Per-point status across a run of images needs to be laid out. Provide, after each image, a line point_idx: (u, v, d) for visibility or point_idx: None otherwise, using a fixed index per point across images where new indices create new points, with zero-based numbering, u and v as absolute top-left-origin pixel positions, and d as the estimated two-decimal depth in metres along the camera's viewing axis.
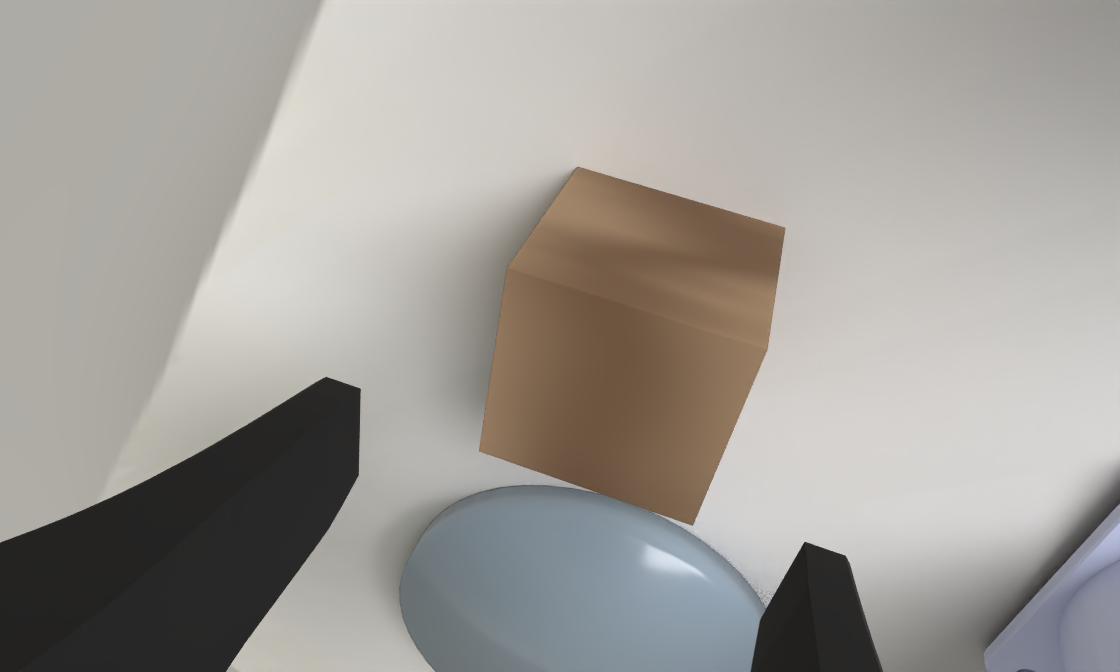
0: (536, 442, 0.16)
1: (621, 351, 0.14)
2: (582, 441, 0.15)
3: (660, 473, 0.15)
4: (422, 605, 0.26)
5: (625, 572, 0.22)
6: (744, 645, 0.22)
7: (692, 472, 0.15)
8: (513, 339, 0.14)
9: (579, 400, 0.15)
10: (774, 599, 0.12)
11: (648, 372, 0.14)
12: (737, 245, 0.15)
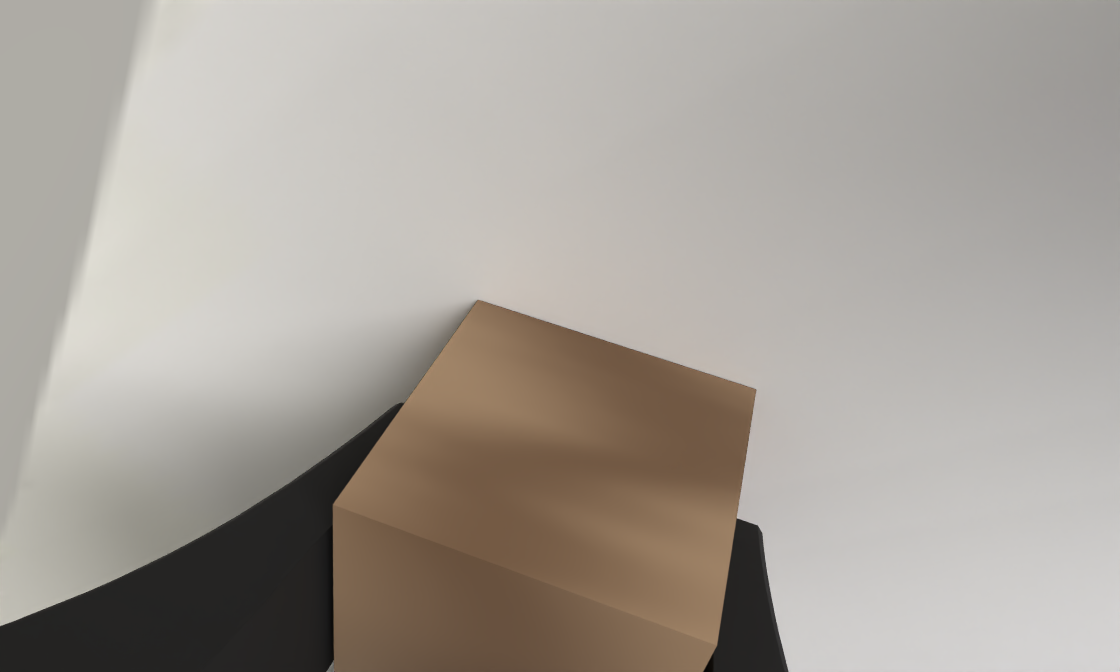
0: None
1: (507, 620, 0.09)
2: None
3: None
4: None
5: None
6: None
7: None
8: (356, 588, 0.10)
9: (455, 667, 0.10)
10: None
11: (546, 648, 0.09)
12: (686, 431, 0.11)
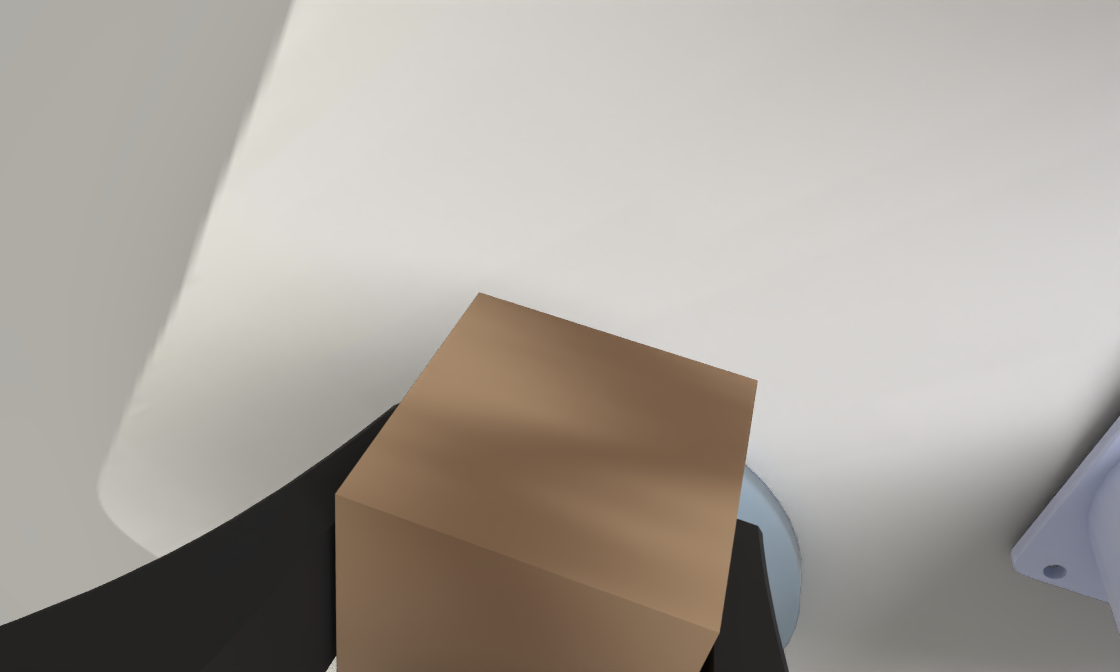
0: None
1: (509, 610, 0.09)
2: None
3: None
4: None
5: None
6: (768, 553, 0.22)
7: None
8: (359, 578, 0.10)
9: (458, 657, 0.10)
10: None
11: (549, 637, 0.09)
12: (688, 422, 0.11)
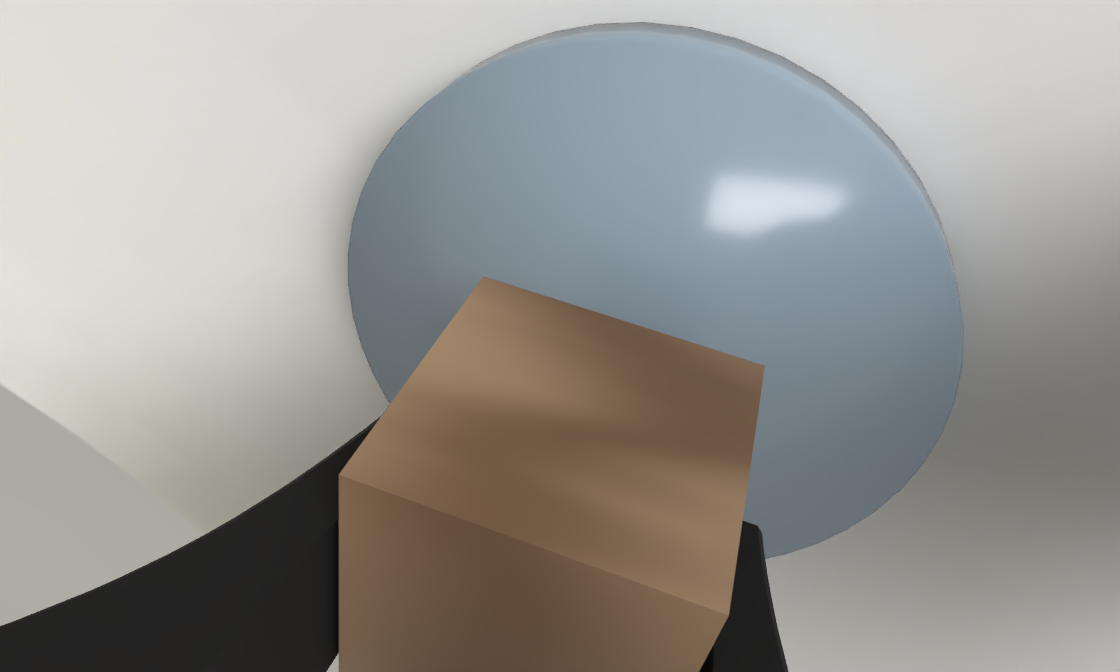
0: None
1: (515, 592, 0.09)
2: None
3: None
4: (383, 286, 0.17)
5: (731, 152, 0.13)
6: (922, 290, 0.13)
7: None
8: (363, 562, 0.10)
9: (462, 642, 0.10)
10: None
11: (554, 622, 0.09)
12: (695, 405, 0.11)
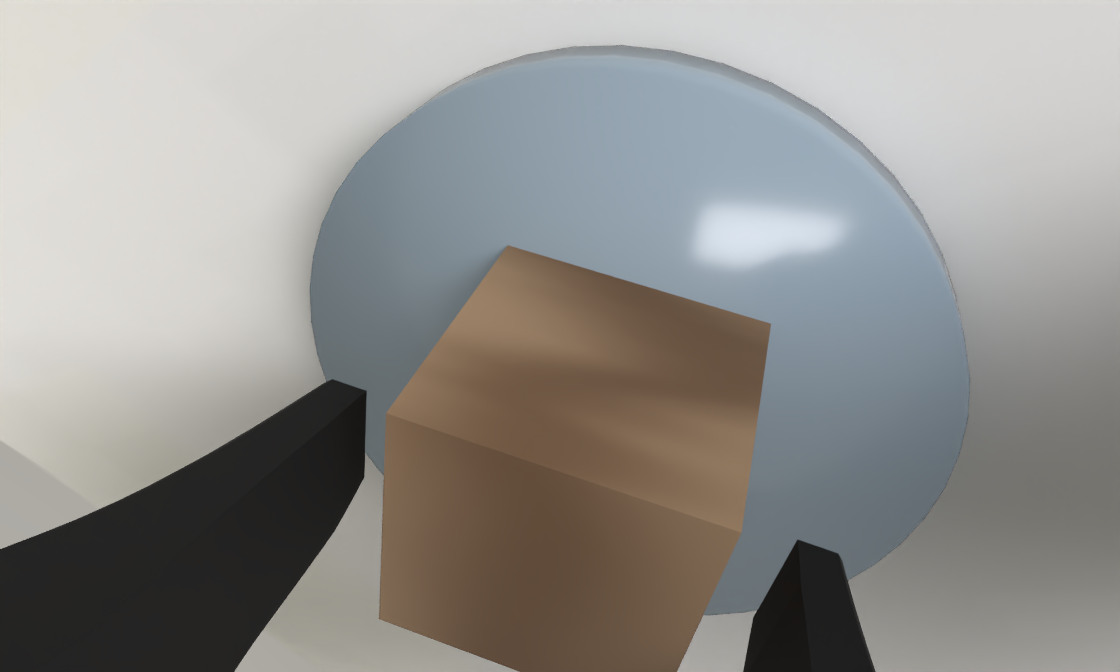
0: (448, 615, 0.12)
1: (546, 521, 0.10)
2: (506, 618, 0.12)
3: (608, 662, 0.11)
4: (348, 323, 0.15)
5: (717, 188, 0.12)
6: (925, 337, 0.12)
7: (649, 664, 0.11)
8: (405, 497, 0.11)
9: (495, 574, 0.11)
10: (767, 597, 0.12)
11: (582, 547, 0.10)
12: (707, 357, 0.12)
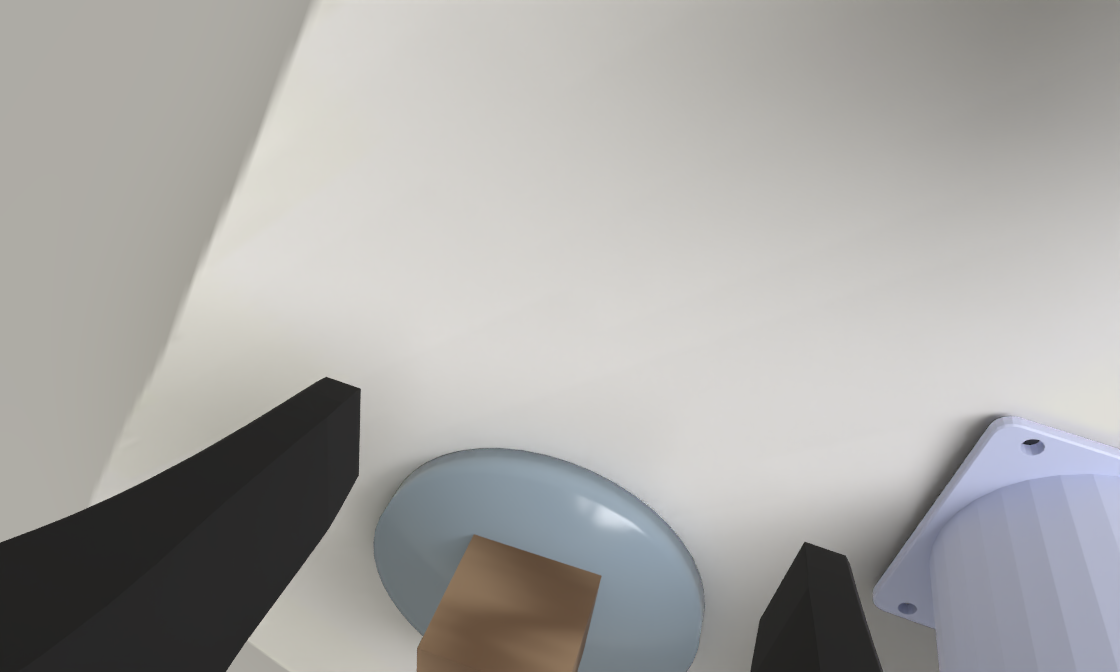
0: None
1: None
2: None
3: None
4: (394, 558, 0.29)
5: (567, 523, 0.25)
6: (670, 586, 0.26)
7: None
8: None
9: None
10: (774, 599, 0.12)
11: None
12: (565, 601, 0.25)
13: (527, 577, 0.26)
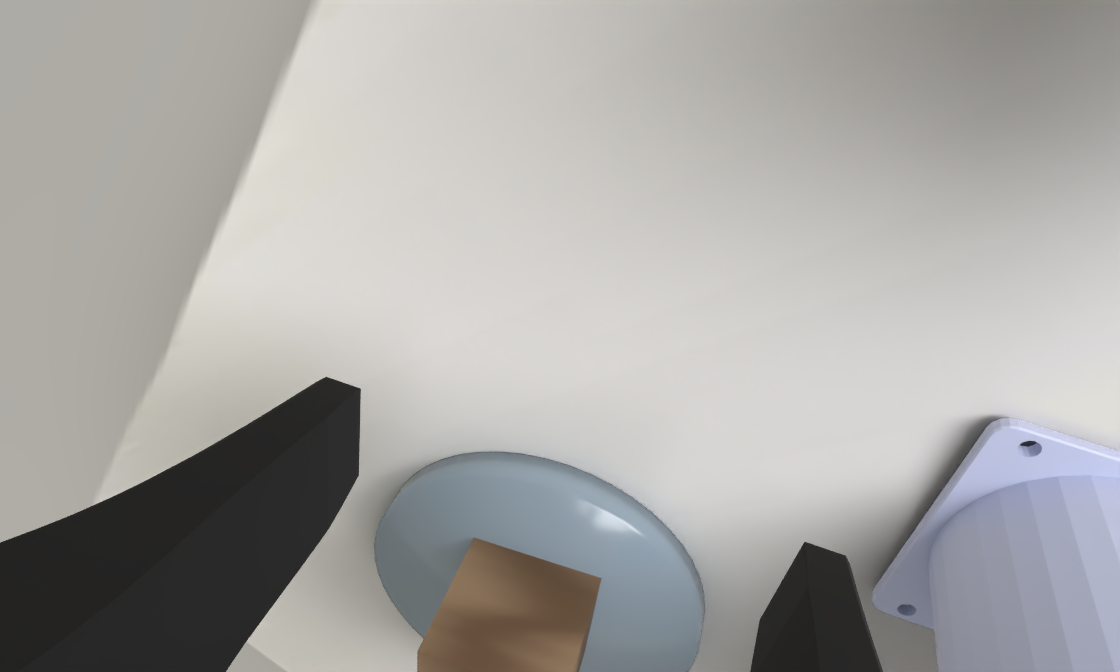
0: None
1: None
2: None
3: None
4: (395, 561, 0.29)
5: (566, 525, 0.25)
6: (670, 589, 0.26)
7: None
8: None
9: None
10: (774, 599, 0.12)
11: None
12: (565, 604, 0.25)
13: (527, 580, 0.26)
